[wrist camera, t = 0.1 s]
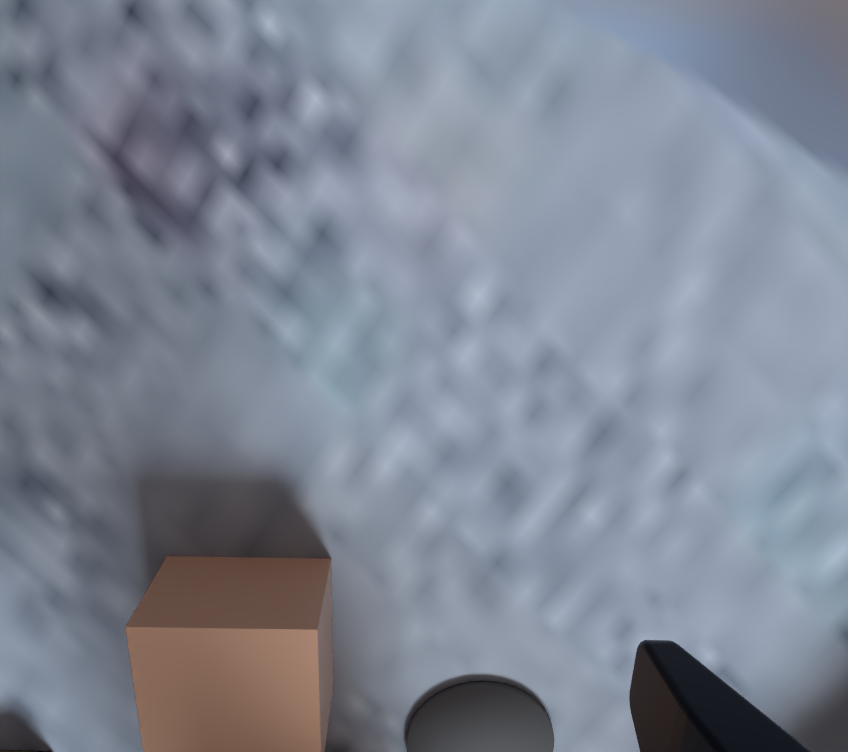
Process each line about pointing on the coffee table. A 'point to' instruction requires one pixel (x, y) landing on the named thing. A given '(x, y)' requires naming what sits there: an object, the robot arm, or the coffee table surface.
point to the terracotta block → (234, 655)
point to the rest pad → (481, 721)
